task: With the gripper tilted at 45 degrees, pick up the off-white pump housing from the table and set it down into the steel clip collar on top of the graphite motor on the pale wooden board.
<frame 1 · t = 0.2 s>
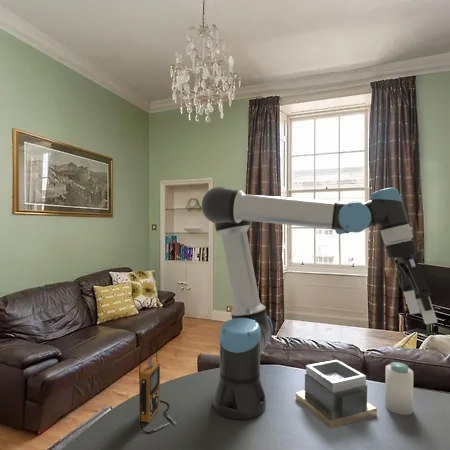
hand: (422, 317, 87), 27 cm above the table, tool tilted 15°, fingers open, 13 cm apart
multimeter: (162, 417, 87), on the table
pump: (398, 407, 92), on the table
motor: (334, 406, 92), on the table
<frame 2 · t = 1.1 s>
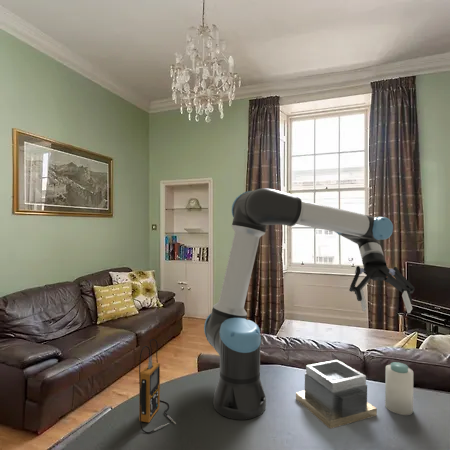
hand: (387, 310, 102), 25 cm above the table, tool tilted 45°, fingers open, 13 cm apart
nothing on the table moved.
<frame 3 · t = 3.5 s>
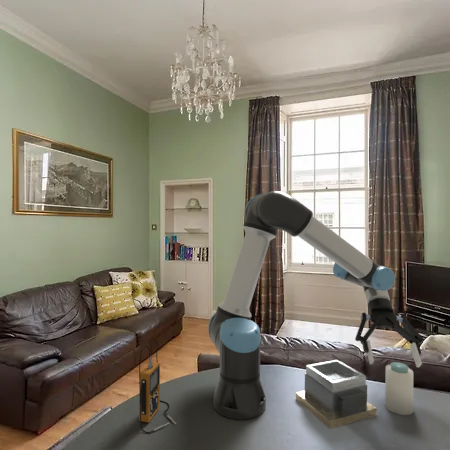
hand: (395, 364, 98), 10 cm above the table, tool tilted 45°, fingers open, 13 cm apart
nothing on the table moved.
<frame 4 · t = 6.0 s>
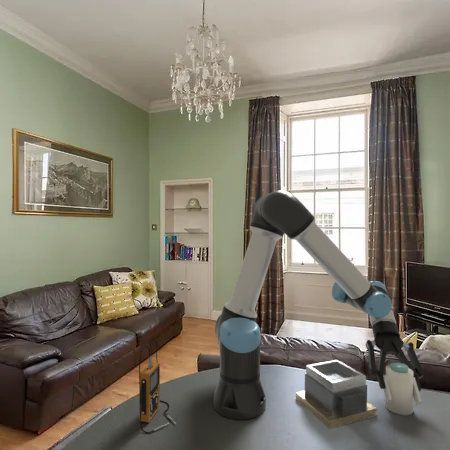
hand: (404, 402, 89), 4 cm above the table, tool tilted 45°, fingers closed on pump, 7 cm apart
pump: (398, 407, 92), on the table, touching gripper
everything else where it was.
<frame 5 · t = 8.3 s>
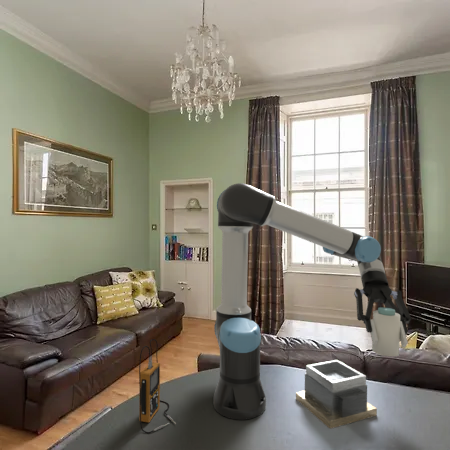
hand: (390, 343, 89), 20 cm above the table, tool tilted 45°, fingers closed on pump, 7 cm apart
pump: (385, 351, 92), point 16 cm above the table, touching gripper
everything else where it was.
when the fingers open (13 cm above the table, at t = 11.0 s): pump drops 1 cm, resting on motor.
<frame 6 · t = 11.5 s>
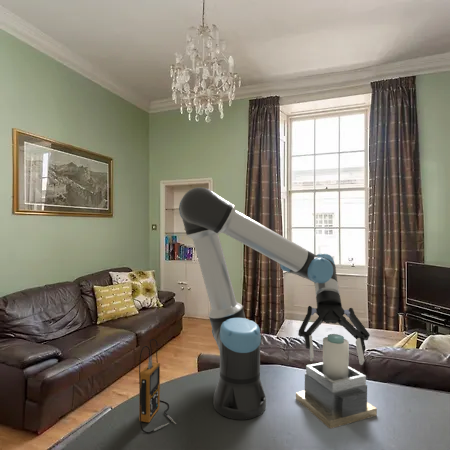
hand: (336, 361, 90), 14 cm above the table, tool tilted 45°, fingers open, 13 cm apart
pump: (335, 379, 92), point 8 cm above the table, touching motor
everything else where it was.
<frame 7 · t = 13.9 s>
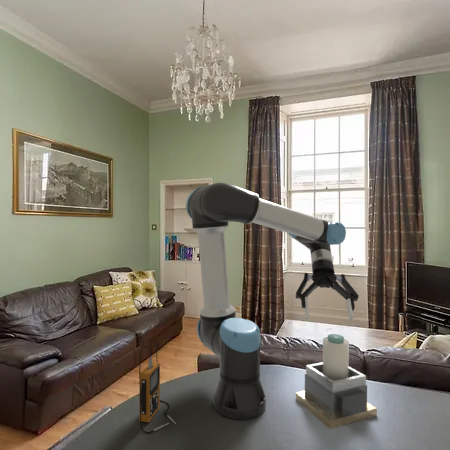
hand: (329, 317, 102), 23 cm above the table, tool tilted 45°, fingers open, 13 cm apart
nothing on the table moved.
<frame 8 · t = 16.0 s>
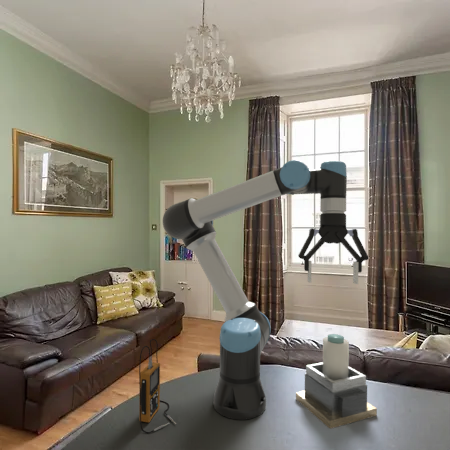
hand: (332, 282, 98), 35 cm above the table, tool pointing down, fingers open, 13 cm apart
nothing on the table moved.
at the end: pump 0.1 cm off-centre on the motor, point 8.0 cm above the motor's base; pump tilted 0°; the gripper is holding nothing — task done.
